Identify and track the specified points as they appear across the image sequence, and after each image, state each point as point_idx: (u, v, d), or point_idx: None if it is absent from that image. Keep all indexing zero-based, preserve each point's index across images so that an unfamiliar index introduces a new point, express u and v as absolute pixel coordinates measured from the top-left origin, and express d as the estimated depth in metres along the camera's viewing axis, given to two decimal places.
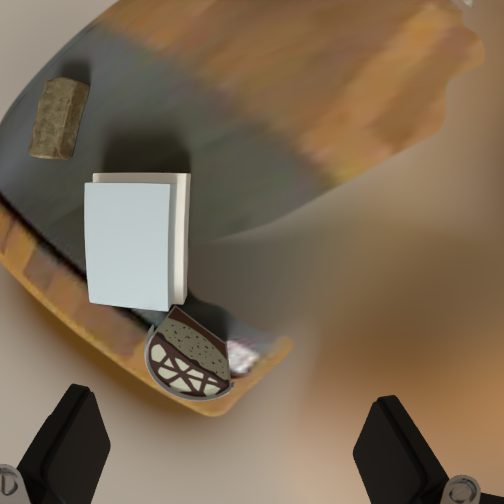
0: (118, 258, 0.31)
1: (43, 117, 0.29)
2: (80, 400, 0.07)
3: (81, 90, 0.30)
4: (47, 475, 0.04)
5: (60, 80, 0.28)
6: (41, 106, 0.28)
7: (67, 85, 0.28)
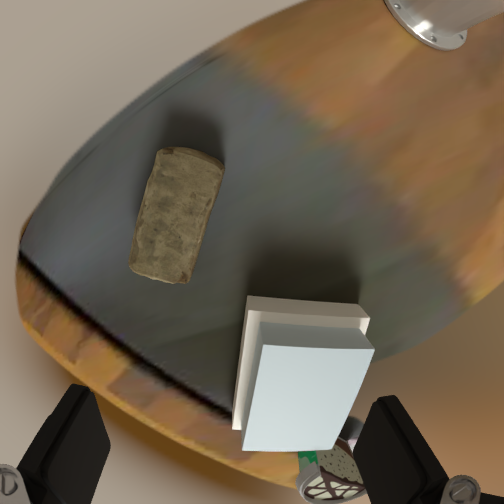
0: (294, 416, 0.26)
1: (159, 218, 0.23)
2: (80, 400, 0.07)
3: (221, 179, 0.25)
4: (47, 475, 0.04)
5: (189, 157, 0.22)
6: (153, 197, 0.23)
7: (205, 172, 0.23)
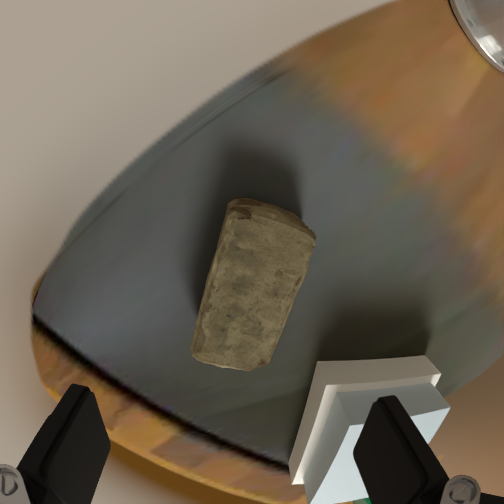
0: None
1: (233, 302, 0.18)
2: (80, 400, 0.07)
3: None
4: (47, 475, 0.04)
5: (274, 224, 0.17)
6: (225, 277, 0.18)
7: (295, 243, 0.18)
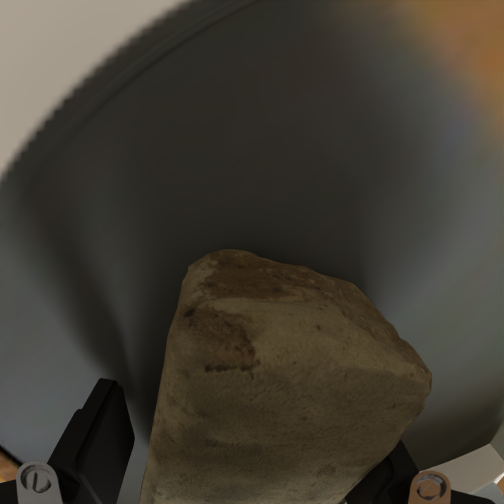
0: None
1: None
2: (110, 394, 0.08)
3: None
4: (82, 469, 0.05)
5: (336, 375, 0.05)
6: (183, 486, 0.05)
7: (384, 410, 0.05)
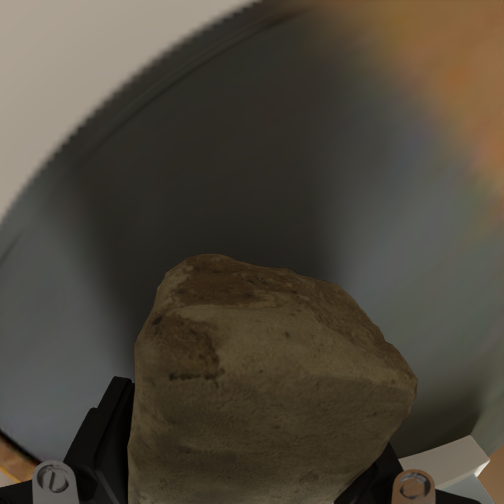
0: None
1: None
2: (125, 392, 0.08)
3: None
4: (101, 467, 0.05)
5: (307, 384, 0.04)
6: (164, 491, 0.05)
7: (365, 418, 0.05)
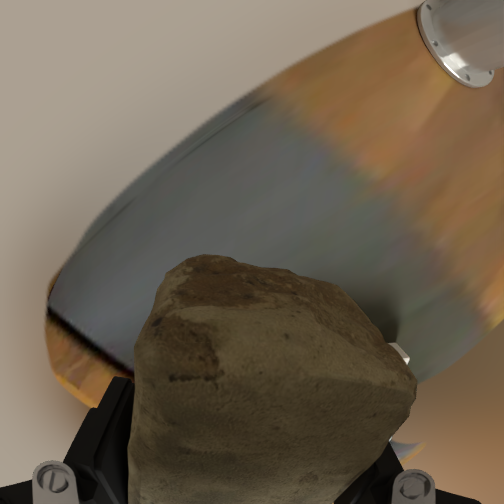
0: None
1: None
2: (125, 392, 0.08)
3: None
4: (101, 467, 0.05)
5: (307, 386, 0.04)
6: (164, 491, 0.05)
7: (364, 419, 0.05)
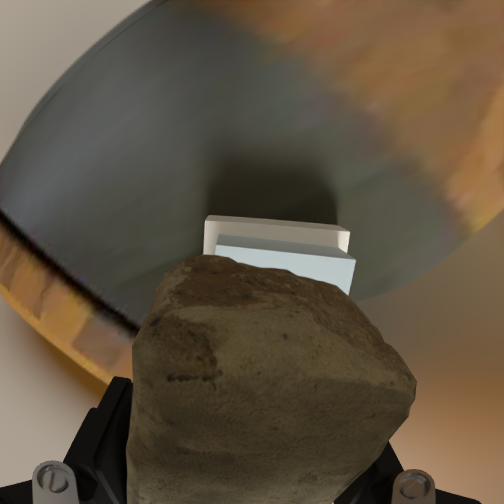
0: None
1: None
2: (125, 391, 0.08)
3: None
4: (100, 467, 0.05)
5: (304, 385, 0.04)
6: (163, 491, 0.05)
7: (363, 419, 0.05)
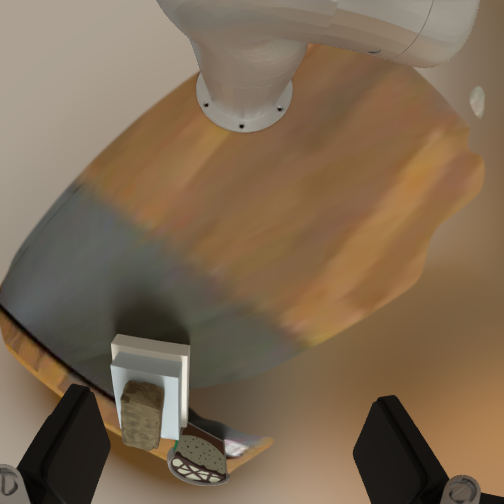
0: None
1: (132, 428, 0.34)
2: (80, 400, 0.07)
3: (162, 404, 0.36)
4: (47, 475, 0.04)
5: (139, 404, 0.33)
6: (126, 420, 0.34)
7: (150, 411, 0.34)
